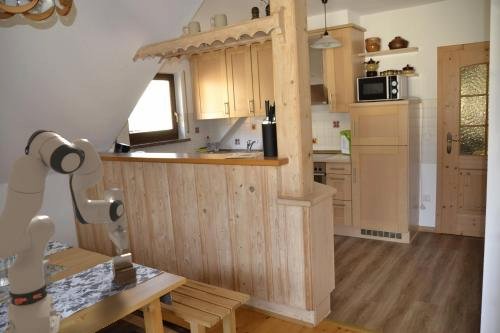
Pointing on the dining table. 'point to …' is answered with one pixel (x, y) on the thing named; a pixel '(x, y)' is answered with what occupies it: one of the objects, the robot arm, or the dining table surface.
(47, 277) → the light bulb box
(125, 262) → the aluminium panel
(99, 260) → the dining table surface
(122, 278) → the walnut rack
